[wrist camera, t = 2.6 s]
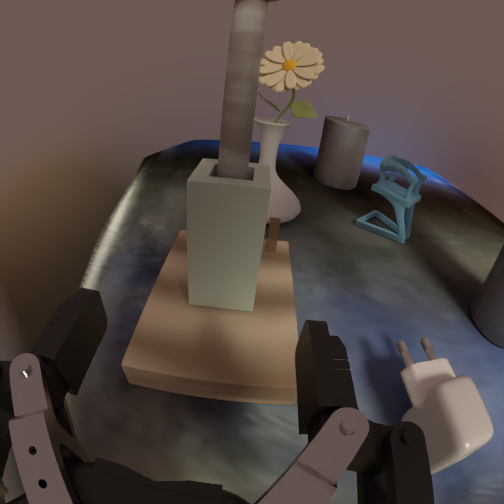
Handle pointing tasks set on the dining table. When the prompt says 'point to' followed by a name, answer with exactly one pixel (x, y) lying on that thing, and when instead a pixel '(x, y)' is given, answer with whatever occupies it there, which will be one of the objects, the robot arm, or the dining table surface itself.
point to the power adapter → (444, 408)
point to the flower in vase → (271, 130)
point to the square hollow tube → (225, 235)
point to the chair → (395, 199)
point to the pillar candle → (341, 152)
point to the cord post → (220, 319)
